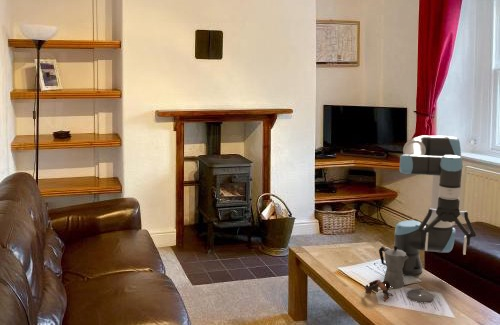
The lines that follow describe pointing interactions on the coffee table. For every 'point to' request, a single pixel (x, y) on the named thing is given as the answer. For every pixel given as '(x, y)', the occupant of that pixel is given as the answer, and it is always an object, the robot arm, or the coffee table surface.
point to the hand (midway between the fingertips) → (444, 251)
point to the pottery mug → (381, 285)
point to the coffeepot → (393, 266)
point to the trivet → (420, 295)
